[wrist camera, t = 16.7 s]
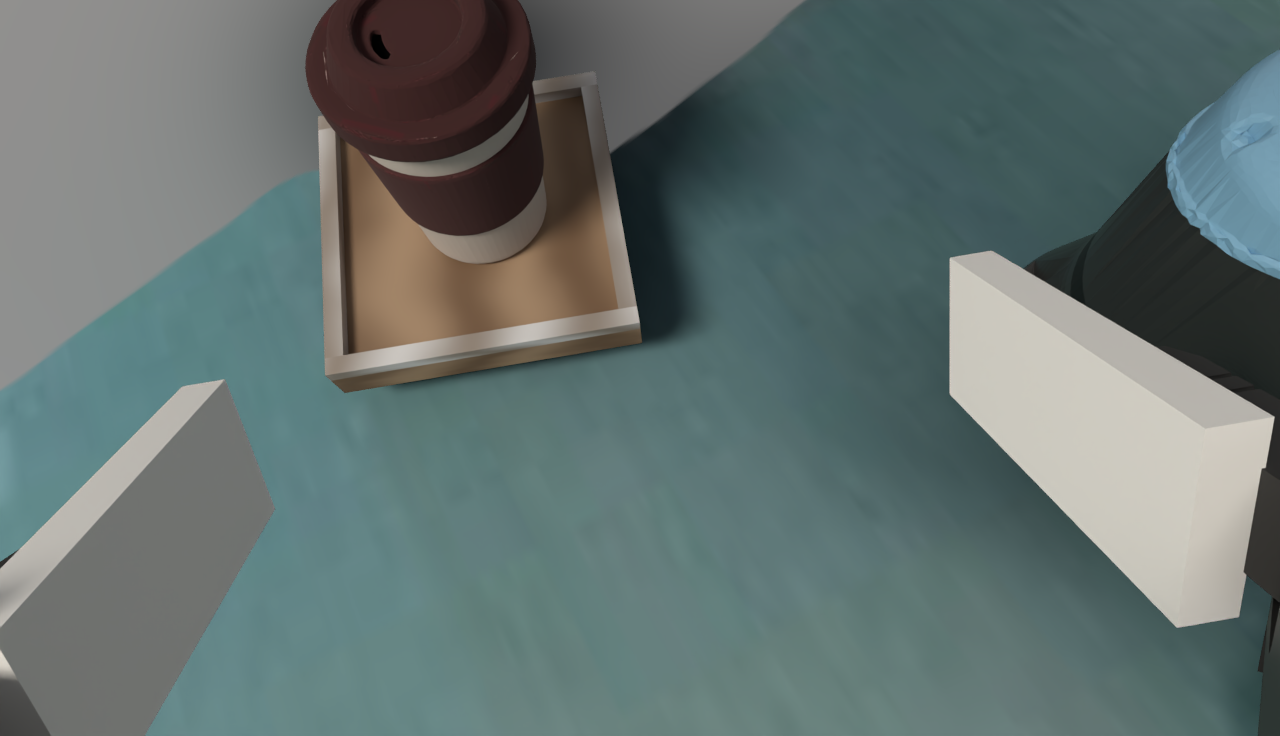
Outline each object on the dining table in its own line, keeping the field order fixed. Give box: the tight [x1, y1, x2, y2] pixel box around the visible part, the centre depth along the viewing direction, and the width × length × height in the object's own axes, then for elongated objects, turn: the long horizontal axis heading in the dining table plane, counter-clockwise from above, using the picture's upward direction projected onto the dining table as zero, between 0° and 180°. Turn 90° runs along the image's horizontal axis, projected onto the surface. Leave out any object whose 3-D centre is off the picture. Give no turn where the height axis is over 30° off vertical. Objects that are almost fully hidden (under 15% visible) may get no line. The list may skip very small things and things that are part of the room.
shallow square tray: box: [318, 71, 642, 393], centre depth 51 cm, size 17×17×6 cm
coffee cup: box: [305, 0, 547, 264], centre depth 42 cm, size 10×10×15 cm
